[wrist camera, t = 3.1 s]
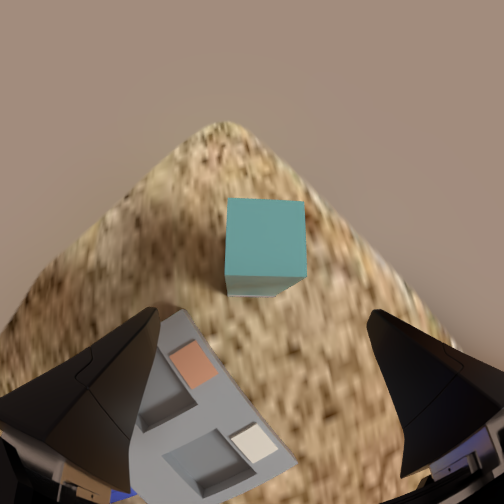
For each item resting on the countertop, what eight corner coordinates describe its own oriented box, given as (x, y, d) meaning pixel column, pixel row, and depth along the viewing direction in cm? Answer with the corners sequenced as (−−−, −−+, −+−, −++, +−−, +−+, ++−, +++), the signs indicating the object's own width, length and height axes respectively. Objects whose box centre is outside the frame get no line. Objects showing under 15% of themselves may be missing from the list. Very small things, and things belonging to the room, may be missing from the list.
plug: (272, 297, 23) (308, 277, 12) (227, 297, 23) (223, 276, 12) (272, 254, 24) (304, 200, 13) (229, 252, 24) (226, 196, 13)
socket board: (293, 453, 20) (298, 464, 17) (170, 510, 17) (166, 522, 15) (186, 309, 22) (181, 308, 20) (69, 383, 19) (56, 387, 17)
